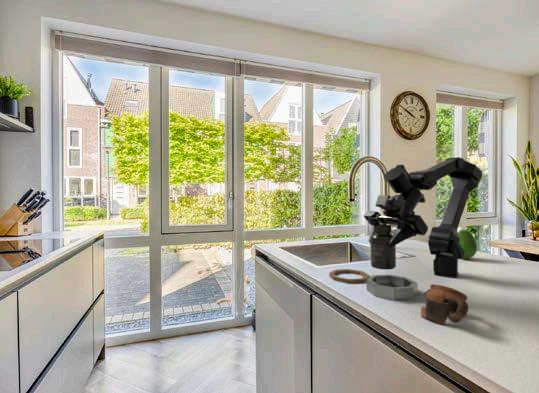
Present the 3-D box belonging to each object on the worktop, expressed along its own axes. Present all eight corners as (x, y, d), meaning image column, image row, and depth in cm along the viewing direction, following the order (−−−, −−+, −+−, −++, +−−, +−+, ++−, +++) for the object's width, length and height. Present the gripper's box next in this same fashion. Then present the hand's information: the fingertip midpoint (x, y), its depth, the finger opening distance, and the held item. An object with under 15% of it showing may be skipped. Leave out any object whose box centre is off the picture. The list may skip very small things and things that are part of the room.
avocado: (449, 258, 124) (449, 229, 123) (461, 256, 127) (461, 227, 127) (469, 262, 116) (469, 231, 116) (481, 260, 120) (481, 230, 119)
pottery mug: (409, 313, 71) (419, 280, 73) (444, 330, 71) (453, 297, 74) (443, 322, 60) (454, 283, 62) (486, 342, 60) (495, 302, 62)
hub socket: (420, 290, 86) (420, 279, 86) (409, 303, 76) (409, 291, 76) (376, 282, 93) (376, 272, 93) (361, 293, 83) (361, 282, 83)
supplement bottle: (401, 269, 84) (400, 226, 83) (379, 271, 82) (378, 227, 82) (386, 263, 90) (385, 223, 90) (366, 265, 89) (365, 224, 89)
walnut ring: (373, 276, 100) (373, 273, 99) (360, 285, 90) (360, 282, 90) (339, 270, 107) (339, 267, 107) (324, 278, 97) (324, 275, 97)
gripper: (367, 185, 96) (341, 222, 91) (420, 184, 79) (391, 230, 75) (385, 208, 100) (361, 245, 95) (439, 212, 83) (413, 257, 78)
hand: (379, 244), depth 86 cm, fingers closed on supplement bottle, 7 cm apart
